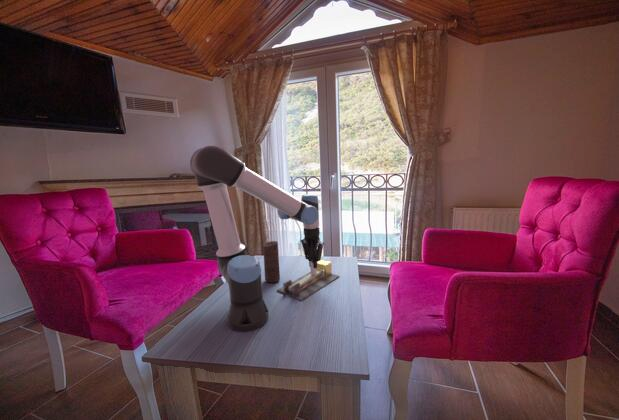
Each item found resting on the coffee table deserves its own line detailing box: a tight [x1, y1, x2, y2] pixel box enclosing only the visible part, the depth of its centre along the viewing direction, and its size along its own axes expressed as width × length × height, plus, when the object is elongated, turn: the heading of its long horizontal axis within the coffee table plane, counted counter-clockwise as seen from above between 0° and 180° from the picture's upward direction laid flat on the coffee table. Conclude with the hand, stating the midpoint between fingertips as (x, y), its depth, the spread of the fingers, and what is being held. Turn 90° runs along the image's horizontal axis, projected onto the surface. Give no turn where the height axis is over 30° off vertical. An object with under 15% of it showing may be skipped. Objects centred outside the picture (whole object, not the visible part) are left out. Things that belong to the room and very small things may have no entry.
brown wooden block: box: [262, 240, 281, 283], centre depth 130 cm, size 8×7×20 cm
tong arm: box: [287, 270, 321, 291], centre depth 124 cm, size 21×3×2 cm, turn 140°
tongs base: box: [276, 271, 340, 302], centre depth 127 cm, size 29×15×5 cm, turn 140°
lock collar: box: [316, 259, 333, 277], centre depth 135 cm, size 5×6×6 cm
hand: (313, 273), depth 129 cm, fingers closed
